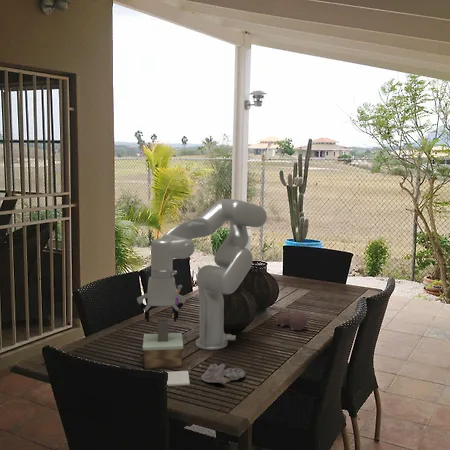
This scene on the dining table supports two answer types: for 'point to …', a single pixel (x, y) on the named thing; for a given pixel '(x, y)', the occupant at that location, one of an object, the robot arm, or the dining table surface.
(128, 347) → the dining table surface
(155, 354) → the walnut box
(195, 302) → the dining table surface
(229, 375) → the fossil
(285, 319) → the toy
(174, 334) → the lid
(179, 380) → the stone tile
